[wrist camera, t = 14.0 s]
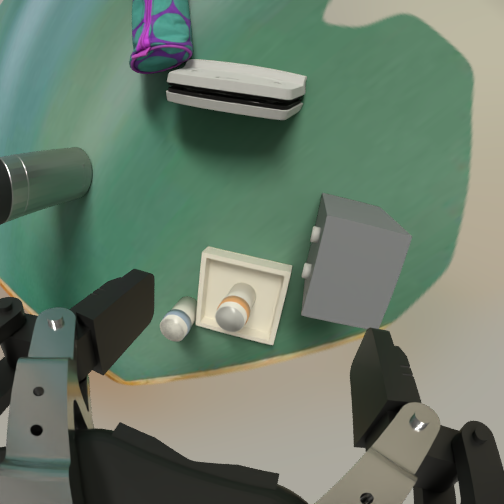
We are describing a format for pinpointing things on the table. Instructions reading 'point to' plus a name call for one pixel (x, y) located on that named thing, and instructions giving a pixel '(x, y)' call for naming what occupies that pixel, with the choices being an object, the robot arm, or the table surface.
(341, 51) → the table surface
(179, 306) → the blue-band fuse
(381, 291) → the control box
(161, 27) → the pencil case
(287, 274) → the parts tray
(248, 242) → the table surface
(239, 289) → the white orange rounded cylinder
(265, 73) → the white slotted rounded block
